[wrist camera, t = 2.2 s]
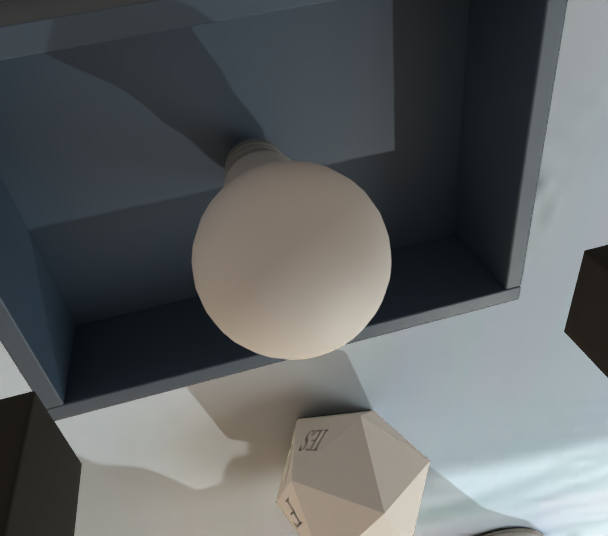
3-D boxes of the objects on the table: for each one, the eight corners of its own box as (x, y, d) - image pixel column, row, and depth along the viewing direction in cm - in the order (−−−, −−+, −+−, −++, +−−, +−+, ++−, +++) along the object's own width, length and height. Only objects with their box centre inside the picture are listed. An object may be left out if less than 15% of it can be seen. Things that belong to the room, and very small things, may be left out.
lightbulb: (158, 196, 23) (166, 385, 14) (211, 61, 20) (261, 188, 12) (283, 236, 25) (355, 415, 17) (344, 121, 23) (467, 261, 14)
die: (327, 354, 32) (260, 518, 26) (463, 415, 32) (428, 597, 26) (299, 406, 39) (242, 545, 33) (411, 457, 39) (374, 609, 33)
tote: (462, 238, 29) (519, 299, 25) (67, 334, 26) (51, 422, 22) (486, -80, 20) (580, -73, 16) (-101, 16, 18) (-182, 57, 13)
